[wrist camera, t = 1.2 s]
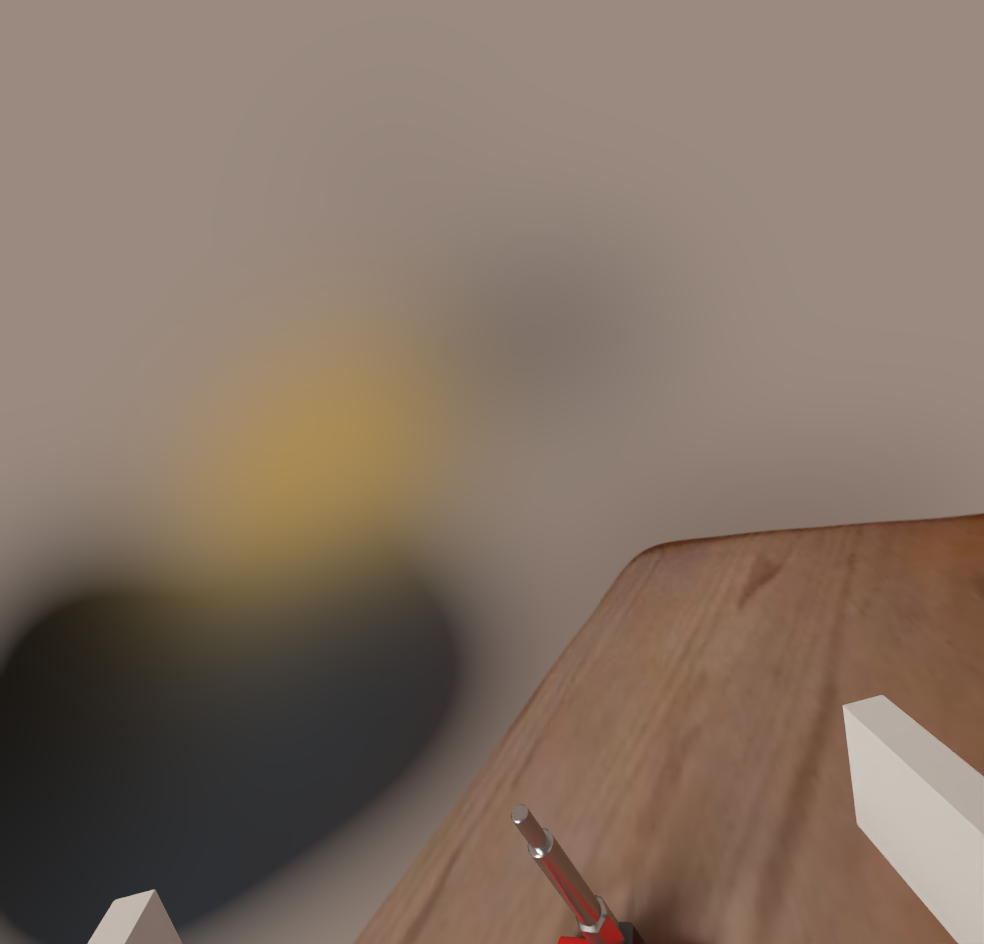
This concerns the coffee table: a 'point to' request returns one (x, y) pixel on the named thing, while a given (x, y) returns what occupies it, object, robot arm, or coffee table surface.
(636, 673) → the coffee table surface
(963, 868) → the robot arm
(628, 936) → the tow hook
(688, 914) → the coffee table surface
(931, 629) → the coffee table surface
